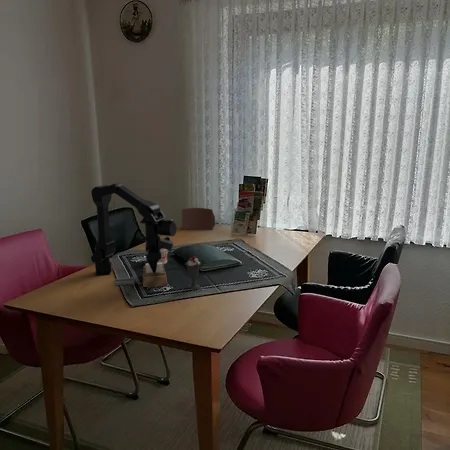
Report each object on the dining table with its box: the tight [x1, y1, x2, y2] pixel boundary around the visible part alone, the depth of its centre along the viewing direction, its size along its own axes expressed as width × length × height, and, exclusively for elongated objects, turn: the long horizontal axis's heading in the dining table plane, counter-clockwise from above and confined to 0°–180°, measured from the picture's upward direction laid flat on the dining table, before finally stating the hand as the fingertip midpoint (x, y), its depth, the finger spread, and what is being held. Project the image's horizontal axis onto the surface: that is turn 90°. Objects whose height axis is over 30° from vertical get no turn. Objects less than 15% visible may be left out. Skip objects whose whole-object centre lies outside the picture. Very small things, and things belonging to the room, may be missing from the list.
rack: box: [142, 264, 169, 288], centre depth 182 cm, size 10×15×4 cm, turn 11°
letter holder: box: [181, 207, 216, 231], centre depth 271 cm, size 10×20×14 cm, turn 84°
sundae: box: [184, 254, 202, 290], centre depth 173 cm, size 7×7×15 cm
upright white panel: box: [145, 262, 164, 273], centre depth 182 cm, size 7×2×6 cm, turn 101°
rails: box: [114, 277, 136, 286], centre depth 180 cm, size 8×5×1 cm, turn 101°
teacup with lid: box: [157, 248, 169, 265], centre depth 206 cm, size 12×9×12 cm
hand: (154, 269), depth 182 cm, fingers open, 7 cm apart
